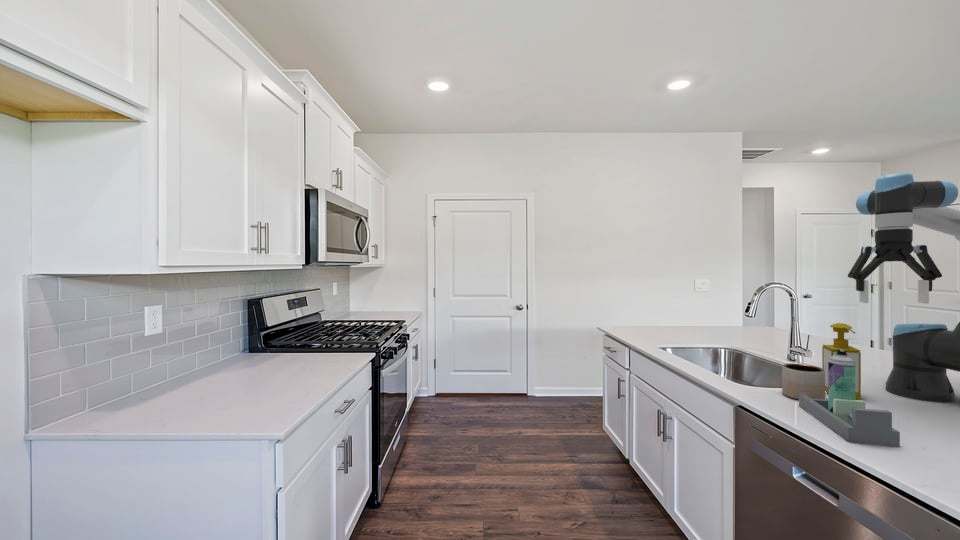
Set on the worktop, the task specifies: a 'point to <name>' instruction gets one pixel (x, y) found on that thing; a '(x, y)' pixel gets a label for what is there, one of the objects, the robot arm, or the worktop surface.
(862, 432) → the lane
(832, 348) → the soap bottle
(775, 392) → the worktop surface
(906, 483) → the worktop surface
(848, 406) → the pusher
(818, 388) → the planter
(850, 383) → the spray can
